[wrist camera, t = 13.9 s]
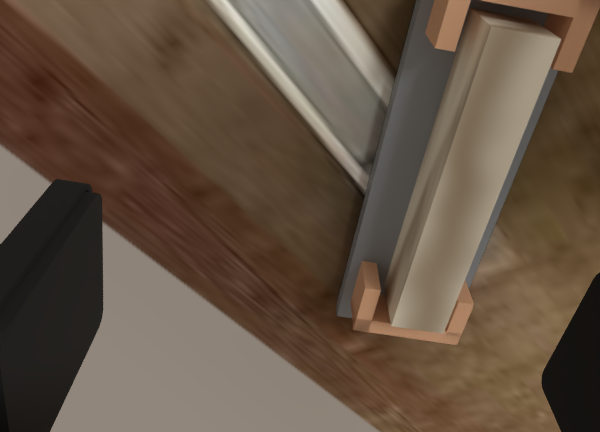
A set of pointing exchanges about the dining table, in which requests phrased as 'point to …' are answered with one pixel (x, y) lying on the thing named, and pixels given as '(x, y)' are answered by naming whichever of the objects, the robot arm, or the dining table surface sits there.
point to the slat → (466, 163)
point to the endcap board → (414, 139)
